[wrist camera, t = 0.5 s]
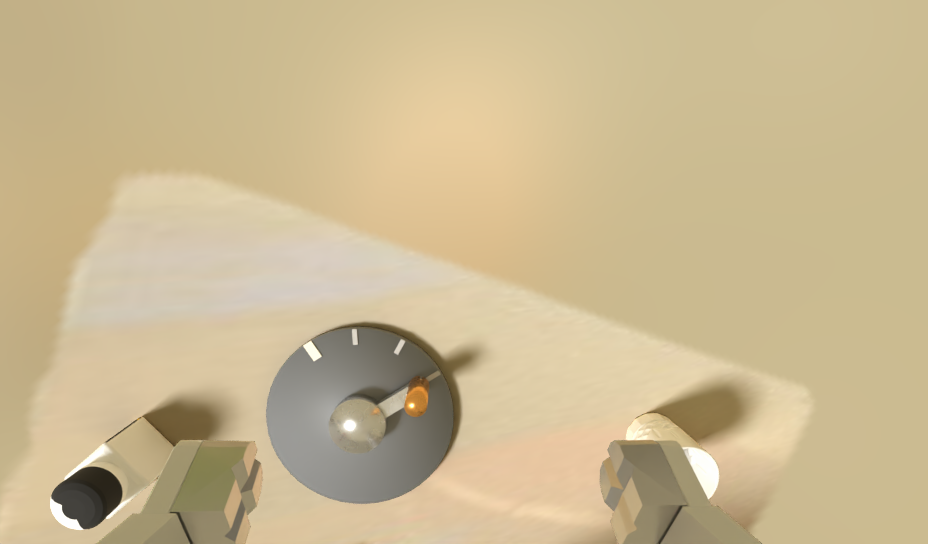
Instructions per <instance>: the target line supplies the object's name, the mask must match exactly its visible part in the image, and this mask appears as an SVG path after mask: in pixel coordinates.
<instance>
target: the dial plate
mask: <svg viewBox="0 0 928 544" xmlns="http://www.w3.org/2000/svg"><path fill="white" fill-rule="evenodd" d="M416 376H422V377H425V378H426V379H427V380H428V382H429V388H430V392H429V394H428V403H427V409H426V412H425V413H424V414H423V415H421V416H419V417H412V416H410V415H408V414H407V413H406V411H405V409H404V407H403V408H402V409H400V410H398V411H397V412H395V413H393V414H392V415H390V416H388V417H387V426H386V430H385V434H384V437H383V439H382V441H381V442H380V444H379V445H378V446H377V447H376V448H374V449H373V450H371V451H369V452H366V453H360V454H354V453H349V452H346V451H344V450H342V449H341V448H339V447H338V446H337V445H336V444H335V443H334V442H333V440H332V439H331V436H330V433H329V420H330V417H331V415H332V413H333V411H334V410H335V408H336V406H337V405H338V404H339V402H340V401H342V400H343V399H344V398H346V397H348V396H351V395H357V394H362V395H367V396H370V397H373V398H374V399H376V400H377V401H378V402H379V401H380V400H382V399H384V398H385V397H387V396H389V395H390V394H392V393H394V392H395V391H397V390H399V389H401V388H402V387H404V386H406V385H407V384H409V382H410V380H411V379H412V378H414V377H416ZM266 417H267V427H268V433H269V437H270V440H271V443H272V446H273V448H274V450H275V452H276V454H277V456H278V458H279V459H280V461H281V462H282V464H283V465H284V466H285V468H286V469H287V470H288V471H289V472H290V474H291V475H293V476H294V477H295V478H296V479H297V480H298V481H299V482H300V483H302V484H303V485H305V486H306V487H307V488H309V489H311V490H312V491H314V492H316V493H318V494H320V495H322V496H325V497H327V498H330V499H333V500H337V501H341V502H347V503H356V504H368V503H378V502H382V501H387V500H391V499H393V498H396V497H399V496H401V495H403V494H405V493H407V492H409V491H411V490H413V489H414V488H416V487H417V486H419V485H420V484H421V483H422V482H424V481H425V480H426V479H427V478H428V477H429V476H430V475H431V474H432V473H433V472H434V470H435V469H436V468H437V467H438V465H439V464H440V462H441V461H442V459H443V457H444V455H445V453H446V451H447V449H448V446H449V443H450V440H451V435H452V430H453V403H452V397H451V393H450V389H449V387H448V384H447V382H446V379H445V377H444V376H443V374H442V372H441V370H440V368H439V367H438V366H437V364H436V363H435V362H434V361H433V359H432V358H431V357H430V356H429V355H428V354H427V353H426V352H425V351H424V350H423V349H421V348H420V347H419V346H417V345H416V344H415V343H413V342H412V341H410V340H408V339H407V338H405V337H403V336H401V335H398V334H396V333H394V332H391V331H387V330H384V329H379V328H373V327H359V326H356V327H345V328H340V329H336V330H332V331H329V332H326V333H323V334H321V335H319V336H317V337H315V338H313V339H311V340H309V341H308V342H307V343H305V344H304V345H302V346H301V347H300V348H299V349H298V350H297V351H295V352H294V353H293V354H292V355H291V356H290V357H289V358H288V360H287V361H286V362H285V363H284V364H283V366H282V367H281V368H280V370H279V372H278V373H277V375H276V377H275V379H274V381H273V384H272V386H271V389H270V392H269V396H268V401H267V409H266Z"/></svg>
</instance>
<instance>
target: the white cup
mask: <svg viewBox="0 0 928 544" xmlns="http://www.w3.org/2000/svg"><path fill="white" fill-rule="evenodd" d="M626 440H654V441H660V440H674V441H677V442H678V443H679V444H680V445H681V447H682V449H683V451H684V453H685V455H686V457H687V459H688V461H689V463H690V464H691V466H692V468H693V470H694V472H695V474H696V476H697V478H698V480H699V482H700V484H701V486H702V488H703V490H704V492H705V494H706V496H707V498H708V500H709V499H710V498H711V496H712V495H713V494H714V492H715V491H716V489H717V486H718V483H719V468H718V465H717V463H716V461H715V460H714V458H713V457H712V456H711V455H710V454H709V453H708V452H707V451H706V450H704V449H703V448H702V447H701V446H700V445H699V444H698V443H697V442H696V441H695V440H693V439H692V438H691V437H690V436H689V435H688V434H687V433H685V432H684V431H683V430H682V429H681V428H679V427H678V426H677V425H675V424H674V423H673V422H672V421H671V420H670V419H669V418H667V417H665V416H663V415H661V414H658V413H646V414H644V415H642V416H640V417H638V418H636V419H635V420H634V421H633V422H632V423H631V425H630V426H629V427H628V431H627V435H626Z"/></svg>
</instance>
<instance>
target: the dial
mask: <svg viewBox="0 0 928 544" xmlns="http://www.w3.org/2000/svg"><path fill="white" fill-rule="evenodd" d="M429 392H430V388H429V382H428V380H427V379H426V378H425V377H422V376H416V377H414V378H412V379H411V380H410V382H409V384H407V385H406V386H404V387H402V388H401V389H399V390H397V391H395V392H394V393H392V394H390V395H389V396H387V397H385V398H384V399H382V400H380V401H379V402H378V401H377V400H376V399H374V398H373V397H370V396H367V395H362V394H357V395H351V396H348V397H346V398H344V399H343V400H342V401H340V402H339V404H338V405H337V406H336V408H335V410H334V411H333V413H332V415H331V417H330V420H329V433H330V436H331V439H332V440H333V442H334V443H335V444H336V445H337V446H338V447H339V448H341V449H342V450H344V451H346V452H349V453H354V454H360V453H366V452H369V451H371V450H373V449H374V448H376V447H377V446H378V445H379V444H380V442H381V441H382V439H383V437H384V434H385V430H386V426H387V417H388V416H390V415H392V414H393V413H395V412H397V411H398V410H400V409H402V408H403V407H404V409H405V411H406V413H407V414H408V415H410V416H412V417H419V416H421V415H423V414H424V413H425V412H426V409H427V403H428V394H429Z"/></svg>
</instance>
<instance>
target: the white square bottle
mask: <svg viewBox="0 0 928 544" xmlns="http://www.w3.org/2000/svg"><path fill="white" fill-rule="evenodd" d="M173 448H174V446H173V445H172V444H171V443H170V442H169V441H168V440H167V439H166V438H165V437H164V436H162V435H161V434H160V433H159V432H158V431H157V430H156V429H155V428H154V427H153V426H152V425H151V424H150V423H149V422H148V421H147V420H146V419H145V418H144V417H140V418H138V419H137V420H135V421H134V422H133V423H131V424H130V425H128V426H127V427H126V428H124V429H123V430H121V431H120V432H119V433H117V434H116V435H114V436H113V437H112V438H110V439H109V440H107V441H106V442H105V443H103V444H102V445H101V446H100V447H99V448H98V449H97V450H95V451H94V452H93V453H92V454H91V455H90V456H88V457H87V458H86V459H85V460H84V461H83V462H82V463H80V464H79V465H78V466H77V467H76V468H75V469H74V470H72V471H71V472H70V473H69V474H68V475H67V476H66V477H65V478H64V479H65V481H63V482H62V483H61V484H59V485H58V486H57V487H56V488H55V489H54V491H53V493H52V495H51V502H50V505H51V510H52V513H53V515H54V517H55V518H56V519H57V520H58V521H59V522H60V523H61V524H63V525H64V526H66V527H68V528H72V529H77V530H84V529H90V528H93V527H95V526H97V525H98V524H100V523H101V522H102V521H103V520H104V519H105V518H107V519H109V518H111V517H112V516H114V515H115V514H116V513H117V512H118V511H120V510H121V509H122V508H123V507H124V506H125V505H127V504H128V503H129V502H130V501H131V500H132V499H134V498H135V497H136V496H137V495H138V494H140V493H141V492H142V491H143V490H144V489H145V488H147V487H148V486H149V485H150V484H151V483H152V482H153V481H154V480H155V479H156V478H157V477H158V476H159V475H160V473H161V471H162V469H163V468H164V466H165V464H166V462H167V460H168V458H169V456H170V454H171V452H172V450H173Z"/></svg>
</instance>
